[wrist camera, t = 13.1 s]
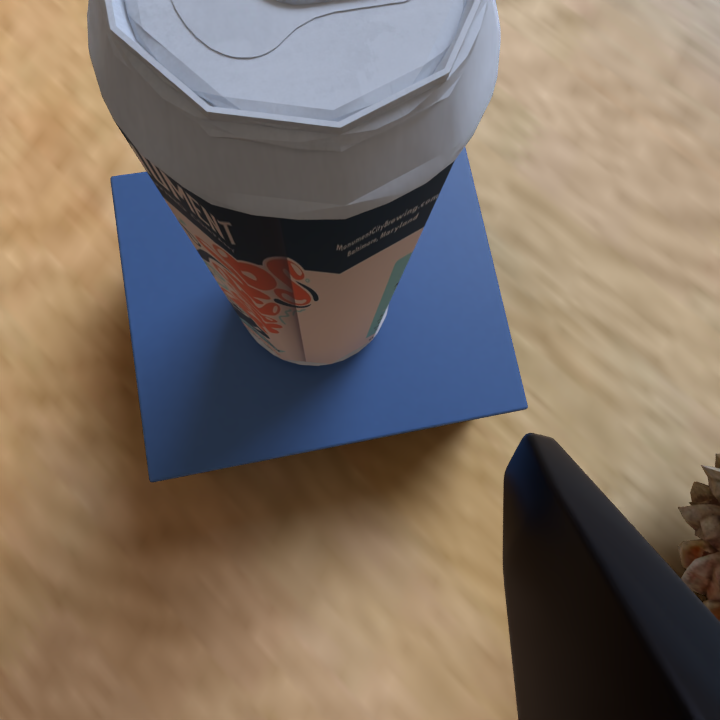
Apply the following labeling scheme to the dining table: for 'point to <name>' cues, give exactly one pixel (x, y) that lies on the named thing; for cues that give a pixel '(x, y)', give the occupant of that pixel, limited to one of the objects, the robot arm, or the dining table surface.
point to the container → (306, 382)
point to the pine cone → (704, 539)
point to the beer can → (299, 142)
